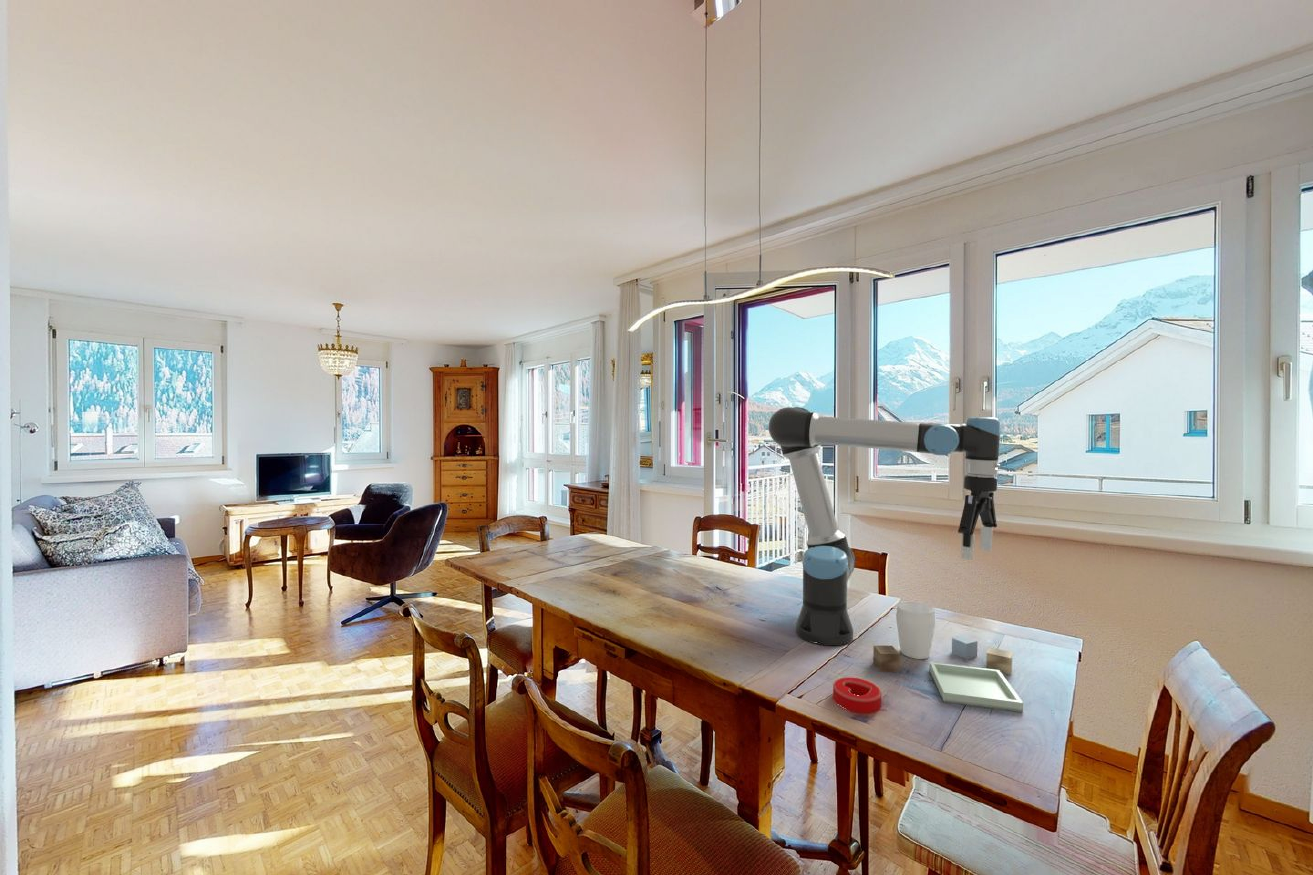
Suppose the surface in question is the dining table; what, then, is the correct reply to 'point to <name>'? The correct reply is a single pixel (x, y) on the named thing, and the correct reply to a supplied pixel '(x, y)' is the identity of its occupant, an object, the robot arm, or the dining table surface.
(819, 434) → the robot arm
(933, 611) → the cup
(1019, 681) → the dining table surface
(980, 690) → the tray
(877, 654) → the walnut block
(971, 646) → the slate blue block
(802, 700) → the dining table surface
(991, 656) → the oak block
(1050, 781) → the dining table surface
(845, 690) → the decorative ornament
